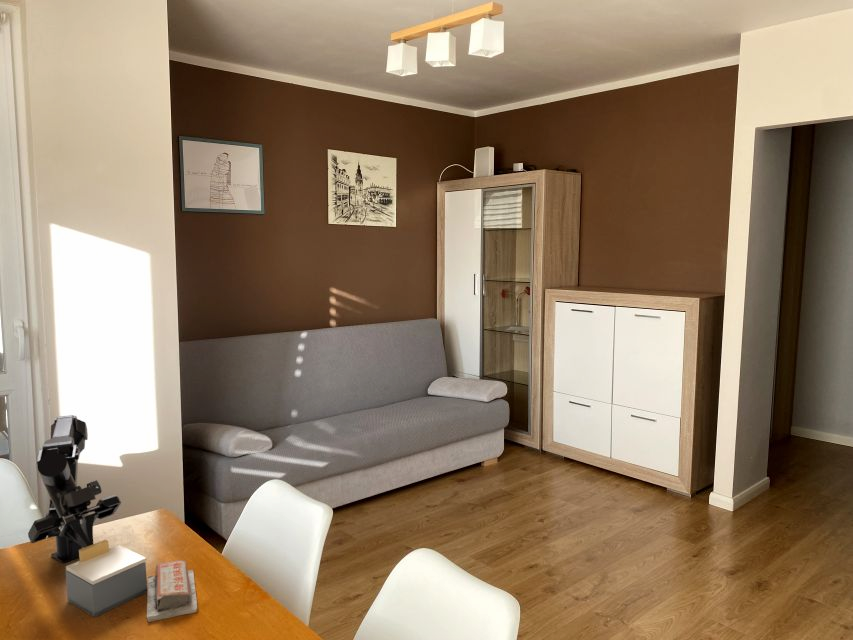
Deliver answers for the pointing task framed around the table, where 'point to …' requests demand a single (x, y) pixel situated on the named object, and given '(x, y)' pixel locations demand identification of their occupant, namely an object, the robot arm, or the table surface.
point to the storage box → (106, 590)
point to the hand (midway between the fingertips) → (91, 550)
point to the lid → (103, 562)
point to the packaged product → (171, 591)
